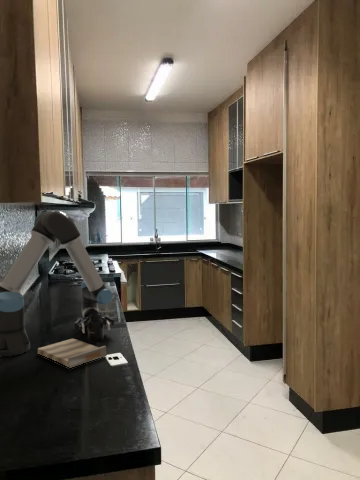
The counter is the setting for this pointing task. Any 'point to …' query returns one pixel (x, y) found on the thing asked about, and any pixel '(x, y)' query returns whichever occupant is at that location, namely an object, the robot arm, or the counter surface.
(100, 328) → the supplement bottle
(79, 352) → the shelf board
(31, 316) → the counter surface
